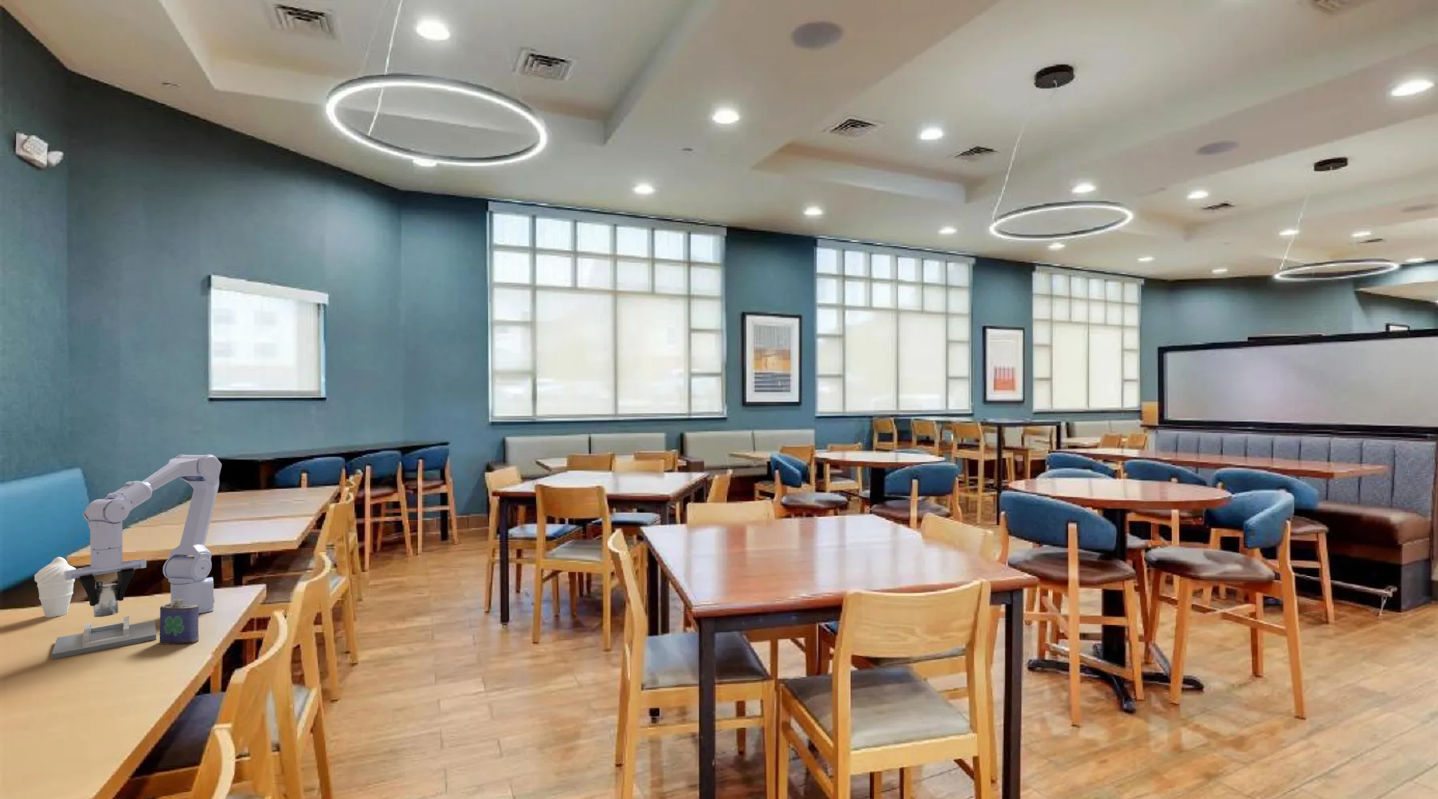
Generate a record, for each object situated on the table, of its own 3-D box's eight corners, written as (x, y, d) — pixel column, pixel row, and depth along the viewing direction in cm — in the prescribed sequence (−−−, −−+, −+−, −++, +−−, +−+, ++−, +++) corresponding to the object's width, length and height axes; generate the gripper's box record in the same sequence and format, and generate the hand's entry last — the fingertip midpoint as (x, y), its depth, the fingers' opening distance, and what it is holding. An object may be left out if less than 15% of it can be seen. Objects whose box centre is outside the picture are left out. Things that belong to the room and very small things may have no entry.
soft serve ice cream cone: (54, 620, 173) (54, 561, 173) (24, 620, 173) (24, 561, 173) (86, 610, 181) (86, 553, 181) (57, 609, 181) (57, 553, 181)
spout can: (115, 610, 161) (115, 576, 161) (120, 613, 159) (120, 579, 159) (91, 615, 158) (91, 580, 158) (96, 618, 155) (96, 583, 155)
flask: (201, 640, 158) (201, 597, 158) (191, 645, 155) (190, 600, 155) (165, 639, 158) (165, 596, 158) (154, 644, 156) (154, 600, 156)
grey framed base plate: (154, 624, 169) (154, 610, 169) (156, 639, 159) (156, 624, 159) (57, 642, 157) (57, 627, 157) (51, 659, 146) (51, 643, 146)
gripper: (141, 540, 166) (141, 592, 166) (61, 550, 154) (61, 607, 154) (148, 544, 162) (148, 597, 162) (67, 555, 150) (67, 612, 150)
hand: (106, 602), depth 158 cm, fingers closed on spout can, 4 cm apart
